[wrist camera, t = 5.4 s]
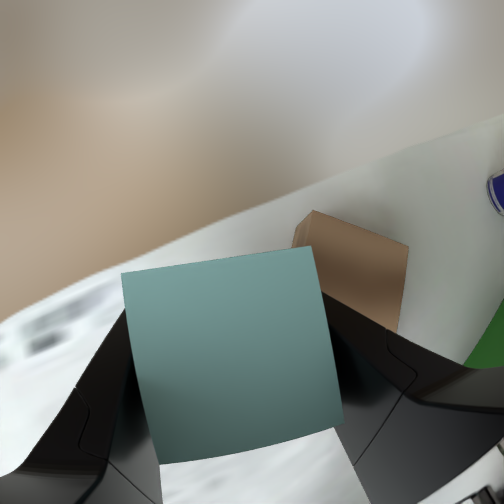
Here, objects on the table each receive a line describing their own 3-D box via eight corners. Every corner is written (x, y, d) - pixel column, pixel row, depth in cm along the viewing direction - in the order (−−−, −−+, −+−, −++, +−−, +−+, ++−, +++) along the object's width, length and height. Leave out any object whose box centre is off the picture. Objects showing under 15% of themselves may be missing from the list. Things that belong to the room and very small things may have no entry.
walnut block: (363, 352, 24) (391, 354, 20) (269, 329, 23) (284, 328, 19) (381, 258, 26) (408, 246, 22) (295, 228, 25) (313, 209, 21)
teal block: (256, 373, 16) (344, 423, 6) (178, 387, 15) (159, 464, 5) (242, 296, 16) (311, 245, 7) (164, 309, 16) (121, 273, 6)
